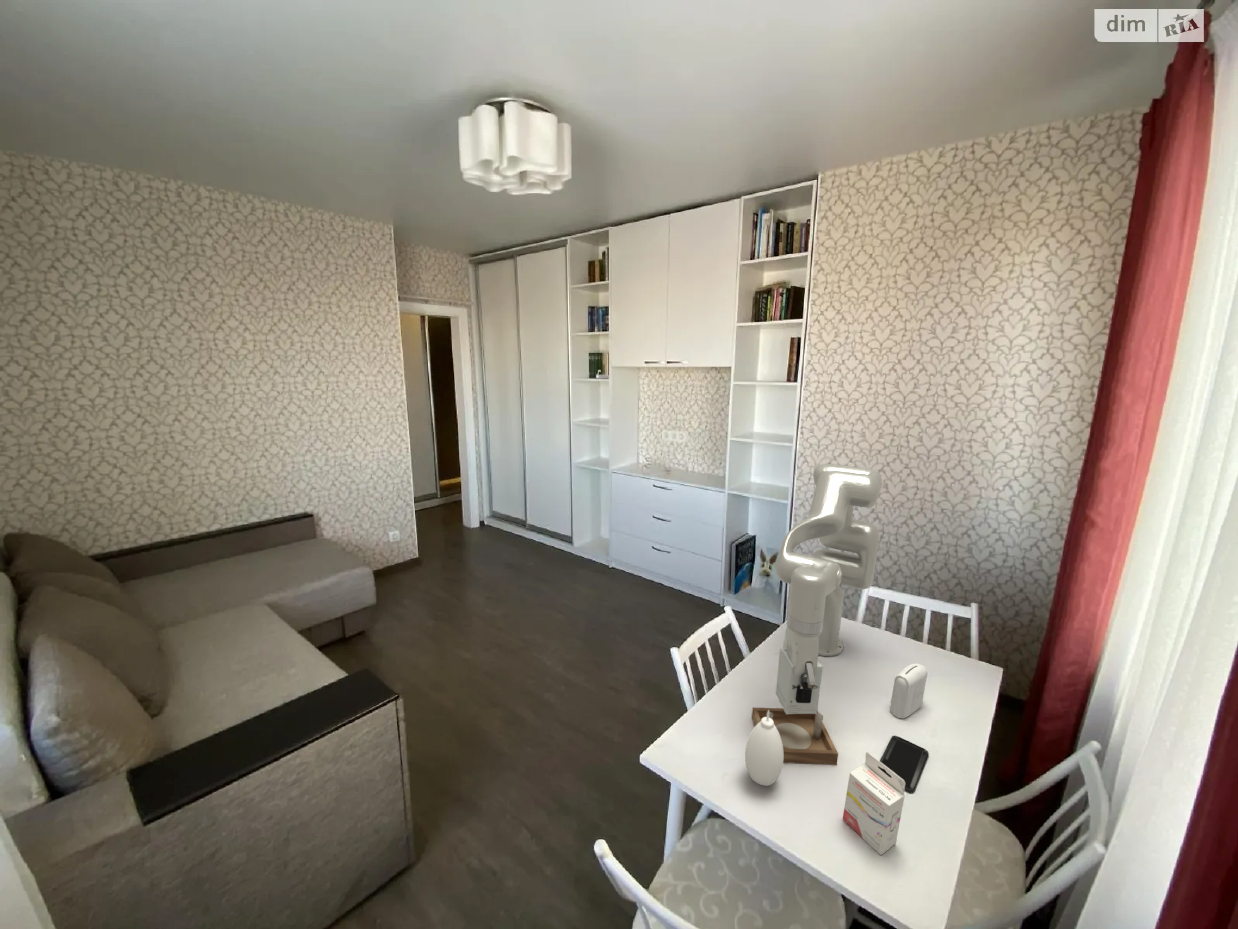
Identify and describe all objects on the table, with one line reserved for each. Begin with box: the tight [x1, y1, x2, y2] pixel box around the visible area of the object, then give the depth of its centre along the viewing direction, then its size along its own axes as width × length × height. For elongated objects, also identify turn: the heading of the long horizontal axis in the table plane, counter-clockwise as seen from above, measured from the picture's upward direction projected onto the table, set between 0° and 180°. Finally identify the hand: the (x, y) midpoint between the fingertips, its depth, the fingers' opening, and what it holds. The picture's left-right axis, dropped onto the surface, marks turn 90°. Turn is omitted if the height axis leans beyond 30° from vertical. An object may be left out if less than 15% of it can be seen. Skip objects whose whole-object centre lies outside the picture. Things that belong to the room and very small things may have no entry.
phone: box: [878, 735, 930, 794], centre depth 114 cm, size 8×1×15 cm
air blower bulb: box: [744, 710, 784, 787], centre depth 107 cm, size 8×8×18 cm
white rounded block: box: [889, 663, 928, 719], centre depth 130 cm, size 10×4×12 cm, turn 123°
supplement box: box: [775, 648, 823, 714], centre depth 117 cm, size 7×7×13 cm
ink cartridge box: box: [842, 751, 906, 856], centre depth 97 cm, size 9×5×15 cm, turn 30°
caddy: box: [751, 706, 839, 766], centre depth 120 cm, size 14×16×7 cm
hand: (797, 689), depth 117 cm, fingers closed on supplement box, 7 cm apart
